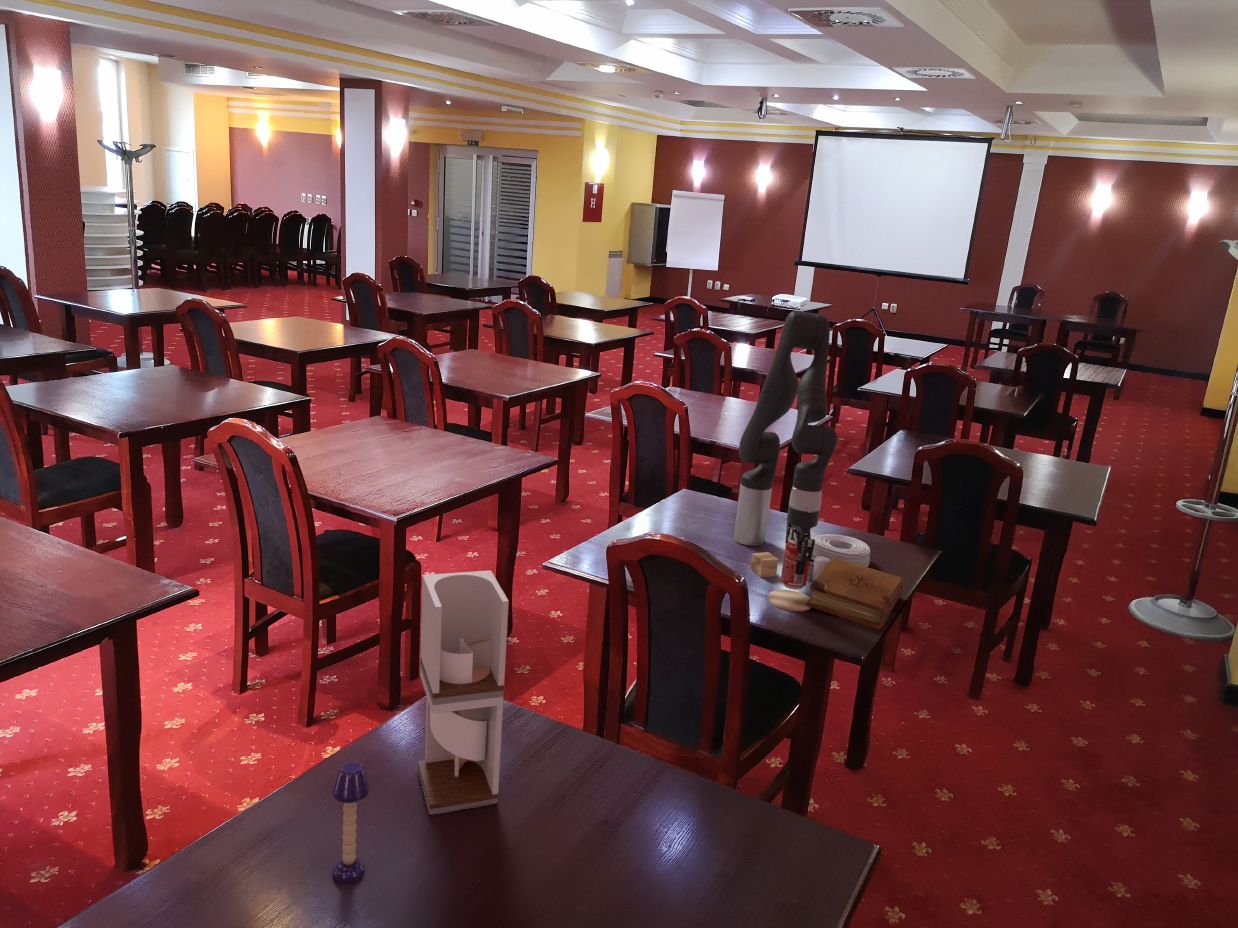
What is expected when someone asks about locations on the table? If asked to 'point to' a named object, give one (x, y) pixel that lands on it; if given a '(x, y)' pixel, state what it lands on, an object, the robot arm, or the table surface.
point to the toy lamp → (350, 819)
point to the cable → (841, 549)
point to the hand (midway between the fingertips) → (795, 568)
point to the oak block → (764, 564)
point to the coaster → (789, 600)
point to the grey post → (819, 566)
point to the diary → (856, 593)
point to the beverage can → (792, 568)
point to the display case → (462, 687)
